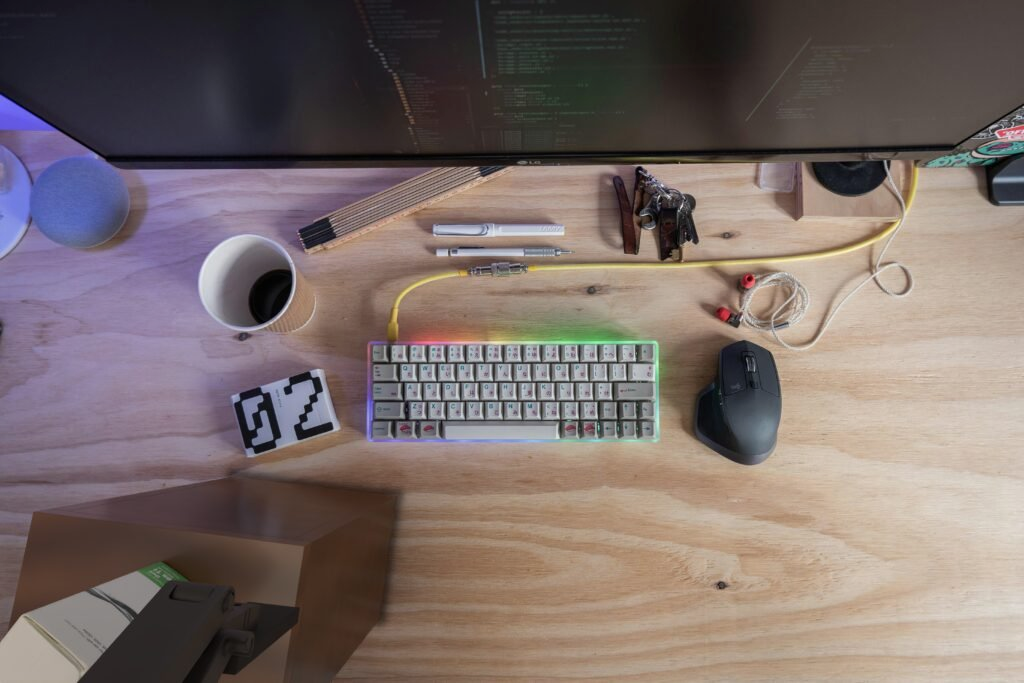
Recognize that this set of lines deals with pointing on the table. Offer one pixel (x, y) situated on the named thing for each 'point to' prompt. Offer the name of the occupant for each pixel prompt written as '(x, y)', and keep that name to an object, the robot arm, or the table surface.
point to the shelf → (188, 550)
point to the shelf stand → (299, 516)
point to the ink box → (77, 628)
